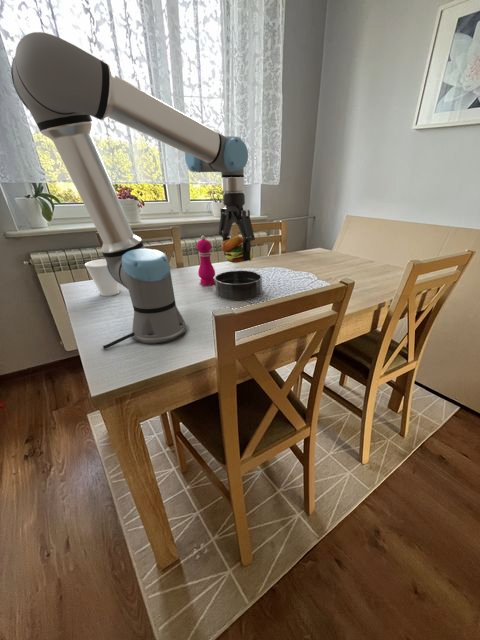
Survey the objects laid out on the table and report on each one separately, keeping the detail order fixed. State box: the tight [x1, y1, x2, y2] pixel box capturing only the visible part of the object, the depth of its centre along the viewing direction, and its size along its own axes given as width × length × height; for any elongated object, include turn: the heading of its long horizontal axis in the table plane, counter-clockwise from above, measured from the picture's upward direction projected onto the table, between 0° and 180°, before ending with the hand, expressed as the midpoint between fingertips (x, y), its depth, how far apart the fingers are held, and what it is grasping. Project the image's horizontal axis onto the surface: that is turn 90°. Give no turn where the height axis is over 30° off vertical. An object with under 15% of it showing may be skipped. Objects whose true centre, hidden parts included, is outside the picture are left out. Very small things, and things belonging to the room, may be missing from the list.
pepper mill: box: [196, 235, 216, 286], centre depth 124 cm, size 7×7×20 cm
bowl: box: [214, 270, 263, 301], centre depth 117 cm, size 19×19×6 cm
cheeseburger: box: [221, 235, 253, 264], centre depth 110 cm, size 10×11×10 cm
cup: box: [84, 258, 120, 297], centre depth 116 cm, size 12×12×12 cm
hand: (237, 257), depth 111 cm, fingers closed on cheeseburger, 11 cm apart
